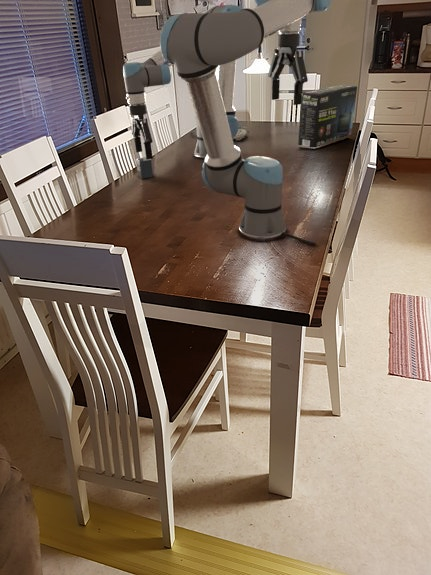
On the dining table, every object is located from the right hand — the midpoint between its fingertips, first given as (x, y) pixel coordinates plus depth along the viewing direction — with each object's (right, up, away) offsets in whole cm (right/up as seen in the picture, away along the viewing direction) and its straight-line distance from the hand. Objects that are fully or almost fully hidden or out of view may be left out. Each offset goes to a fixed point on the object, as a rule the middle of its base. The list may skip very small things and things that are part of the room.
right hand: (286, 102), depth 162 cm
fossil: (-15, +20, +100) cm, 103 cm away
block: (-56, -15, +44) cm, 73 cm away
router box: (+34, +12, +83) cm, 90 cm away
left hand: (-56, -7, +40) cm, 69 cm away
